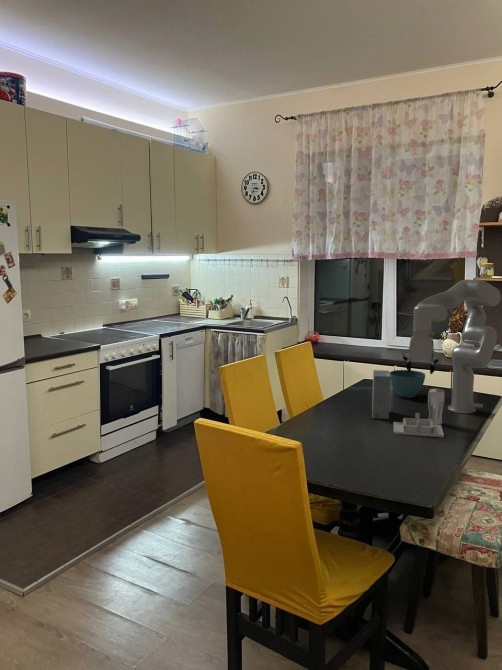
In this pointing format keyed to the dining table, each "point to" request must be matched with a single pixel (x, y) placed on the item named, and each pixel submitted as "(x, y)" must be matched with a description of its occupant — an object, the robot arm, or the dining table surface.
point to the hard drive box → (381, 394)
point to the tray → (400, 430)
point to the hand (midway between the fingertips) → (420, 372)
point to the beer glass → (436, 405)
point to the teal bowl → (407, 382)
